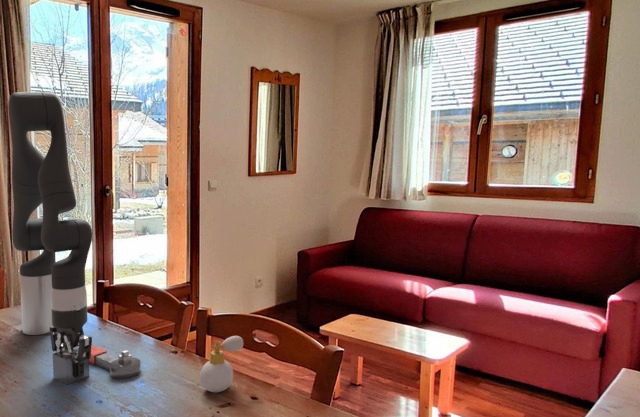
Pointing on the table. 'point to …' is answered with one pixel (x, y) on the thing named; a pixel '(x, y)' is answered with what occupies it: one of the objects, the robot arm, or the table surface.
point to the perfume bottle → (220, 366)
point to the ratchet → (116, 363)
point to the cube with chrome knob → (67, 367)
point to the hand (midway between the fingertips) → (71, 373)
